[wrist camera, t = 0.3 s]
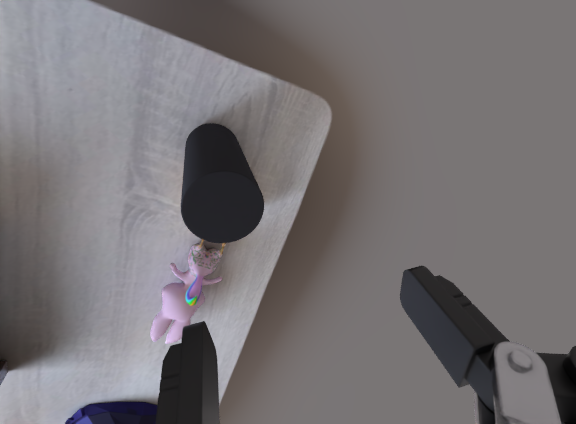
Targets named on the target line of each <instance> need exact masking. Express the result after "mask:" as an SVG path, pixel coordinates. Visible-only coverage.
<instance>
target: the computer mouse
mask: <svg viewBox="0 0 576 424" xmlns="http://www.w3.org/2000/svg"><path fill="white" fill-rule="evenodd" d="M156 414H157V405H153V404H150V403H146V402H112V403H99V404H90V405H88V406H86V407H84V408H80V409H79V410H78V411H77V412H76V413H75V414H74V415H73V416H72V417H71V418H68V420H67V421H66V423H65V424H155V422H156Z"/></svg>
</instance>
